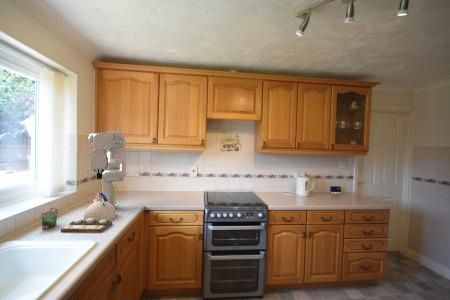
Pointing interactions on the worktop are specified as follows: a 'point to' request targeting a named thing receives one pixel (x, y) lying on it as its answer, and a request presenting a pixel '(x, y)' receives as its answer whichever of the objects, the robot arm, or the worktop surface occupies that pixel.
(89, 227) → the pattern card
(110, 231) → the worktop surface
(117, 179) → the robot arm
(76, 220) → the button
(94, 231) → the button board
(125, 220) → the worktop surface
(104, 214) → the kettle
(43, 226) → the food container
